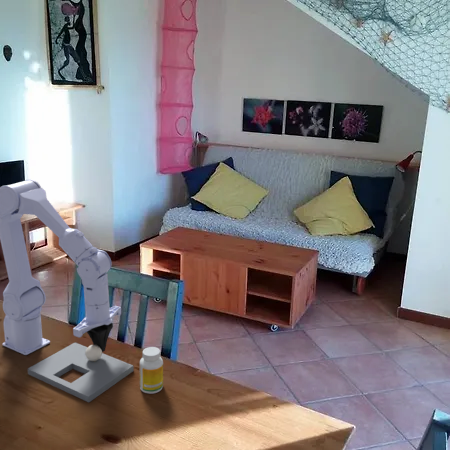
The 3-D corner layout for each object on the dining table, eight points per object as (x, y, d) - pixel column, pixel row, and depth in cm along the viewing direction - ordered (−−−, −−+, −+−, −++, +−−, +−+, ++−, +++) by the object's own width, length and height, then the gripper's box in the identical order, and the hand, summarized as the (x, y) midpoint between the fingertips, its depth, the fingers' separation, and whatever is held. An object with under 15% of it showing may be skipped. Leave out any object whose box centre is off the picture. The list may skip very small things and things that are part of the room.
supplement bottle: (135, 386, 118) (134, 349, 116) (155, 378, 122) (155, 342, 119) (147, 397, 114) (147, 359, 112) (167, 389, 118) (167, 352, 115)
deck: (28, 374, 121) (27, 368, 121) (75, 347, 134) (74, 342, 133) (88, 402, 112) (88, 396, 111) (133, 370, 124) (133, 365, 124)
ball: (84, 360, 126) (79, 351, 123) (95, 348, 129) (90, 339, 126) (96, 366, 124) (92, 357, 122) (107, 354, 127) (102, 344, 124)
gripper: (87, 316, 115) (91, 368, 119) (129, 293, 127) (131, 342, 131) (65, 309, 118) (69, 360, 122) (108, 288, 130) (111, 335, 134)
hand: (100, 350), depth 127 cm, fingers closed, pressing on ball
